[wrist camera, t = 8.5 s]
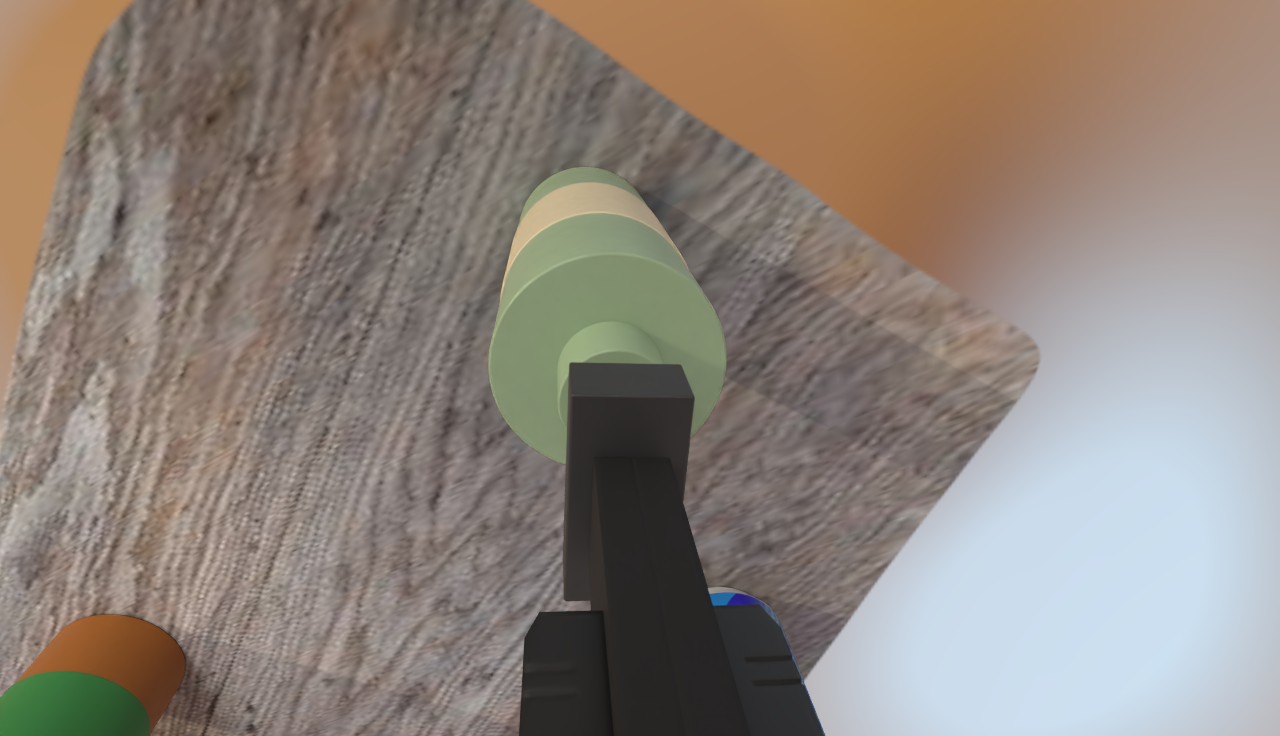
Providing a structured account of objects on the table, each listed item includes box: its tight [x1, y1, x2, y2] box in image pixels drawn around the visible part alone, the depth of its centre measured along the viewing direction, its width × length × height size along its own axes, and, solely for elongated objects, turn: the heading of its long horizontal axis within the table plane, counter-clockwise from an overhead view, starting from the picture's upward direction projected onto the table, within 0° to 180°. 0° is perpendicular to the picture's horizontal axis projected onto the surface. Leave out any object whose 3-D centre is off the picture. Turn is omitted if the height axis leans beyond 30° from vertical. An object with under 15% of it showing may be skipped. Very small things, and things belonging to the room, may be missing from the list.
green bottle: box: [488, 167, 727, 465], centre depth 25 cm, size 6×6×18 cm
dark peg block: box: [563, 362, 695, 601], centre depth 16 cm, size 7×2×3 cm, turn 176°
